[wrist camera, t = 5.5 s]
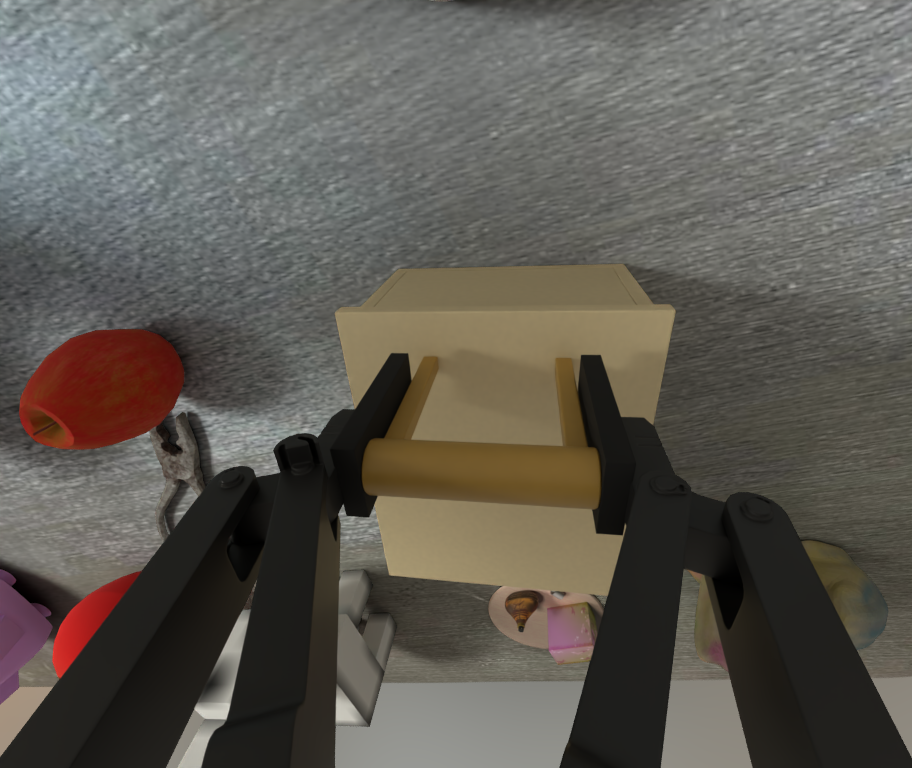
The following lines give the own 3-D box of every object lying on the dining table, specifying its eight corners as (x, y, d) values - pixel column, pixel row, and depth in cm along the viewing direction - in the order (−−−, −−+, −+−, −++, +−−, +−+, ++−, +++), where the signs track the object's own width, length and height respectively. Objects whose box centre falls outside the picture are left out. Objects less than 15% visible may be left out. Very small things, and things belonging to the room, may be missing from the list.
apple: (173, 415, 39) (63, 501, 30) (93, 346, 36) (-54, 418, 27) (224, 371, 36) (117, 453, 26) (140, 292, 33) (-10, 352, 24)
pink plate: (582, 567, 41) (587, 612, 37) (620, 640, 45) (628, 687, 42) (469, 588, 45) (463, 630, 41) (514, 653, 49) (513, 697, 46)
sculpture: (873, 537, 34) (988, 671, 26) (825, 602, 38) (910, 736, 30) (679, 514, 36) (726, 632, 27) (654, 579, 40) (688, 699, 32)
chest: (397, 268, 29) (344, 321, 21) (623, 263, 27) (667, 321, 18) (423, 469, 38) (392, 565, 29) (595, 478, 35) (616, 584, 27)
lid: (340, 306, 20) (221, 413, 12) (671, 303, 18) (780, 432, 10) (392, 565, 29) (342, 721, 21) (616, 585, 27) (652, 768, 19)
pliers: (171, 559, 49) (82, 410, 39) (176, 552, 49) (91, 405, 40) (249, 565, 47) (177, 412, 37) (253, 559, 48) (184, 407, 38)
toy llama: (349, 640, 53) (263, 878, 36) (283, 543, 46) (135, 786, 29) (404, 638, 51) (341, 890, 34) (344, 537, 44) (225, 794, 27)
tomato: (228, 584, 51) (148, 703, 40) (202, 624, 57) (125, 738, 46) (130, 533, 49) (17, 645, 38) (113, 580, 55) (10, 689, 44)
